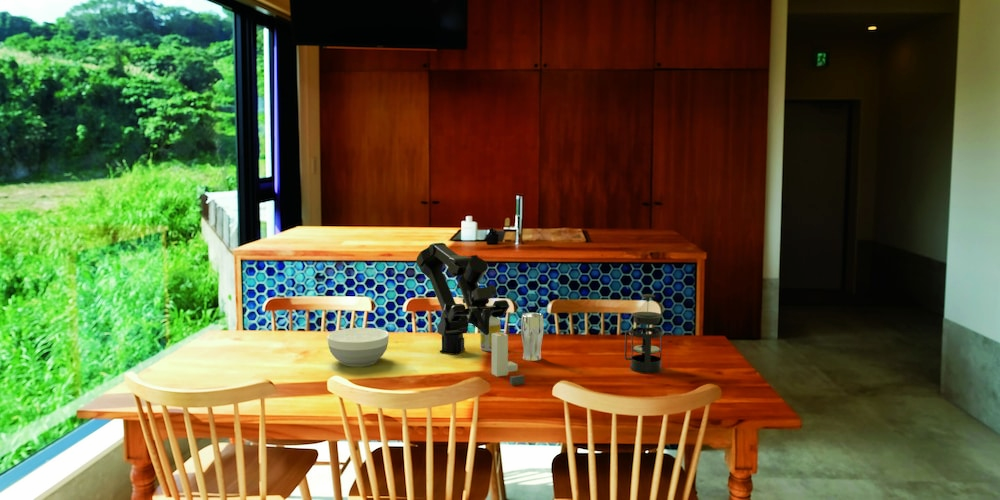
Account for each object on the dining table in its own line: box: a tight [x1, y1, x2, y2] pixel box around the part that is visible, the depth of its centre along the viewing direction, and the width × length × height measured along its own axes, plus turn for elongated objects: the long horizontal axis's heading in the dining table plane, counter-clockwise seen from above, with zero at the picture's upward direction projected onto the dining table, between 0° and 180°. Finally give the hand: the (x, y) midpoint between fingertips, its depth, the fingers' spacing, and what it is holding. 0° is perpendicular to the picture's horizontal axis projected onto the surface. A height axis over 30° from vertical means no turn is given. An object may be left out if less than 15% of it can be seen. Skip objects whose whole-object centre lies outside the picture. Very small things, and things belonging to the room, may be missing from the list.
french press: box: [624, 293, 663, 374], centre depth 252 cm, size 12×9×23 cm
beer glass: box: [520, 312, 544, 362], centre depth 260 cm, size 7×7×15 cm
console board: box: [508, 360, 525, 387], centre depth 241 cm, size 20×14×3 cm
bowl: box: [326, 327, 390, 368], centre depth 259 cm, size 19×19×9 cm
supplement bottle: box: [479, 316, 502, 352], centre depth 275 cm, size 7×7×13 cm
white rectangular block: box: [491, 331, 509, 377], centre depth 242 cm, size 4×4×12 cm
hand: (487, 334), depth 249 cm, fingers closed
